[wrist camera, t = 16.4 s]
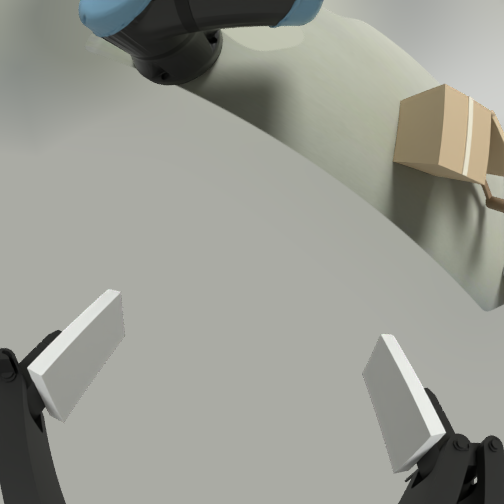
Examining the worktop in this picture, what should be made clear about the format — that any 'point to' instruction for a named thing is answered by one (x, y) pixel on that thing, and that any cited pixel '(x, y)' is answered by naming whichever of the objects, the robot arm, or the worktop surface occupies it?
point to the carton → (444, 135)
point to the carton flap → (495, 162)
